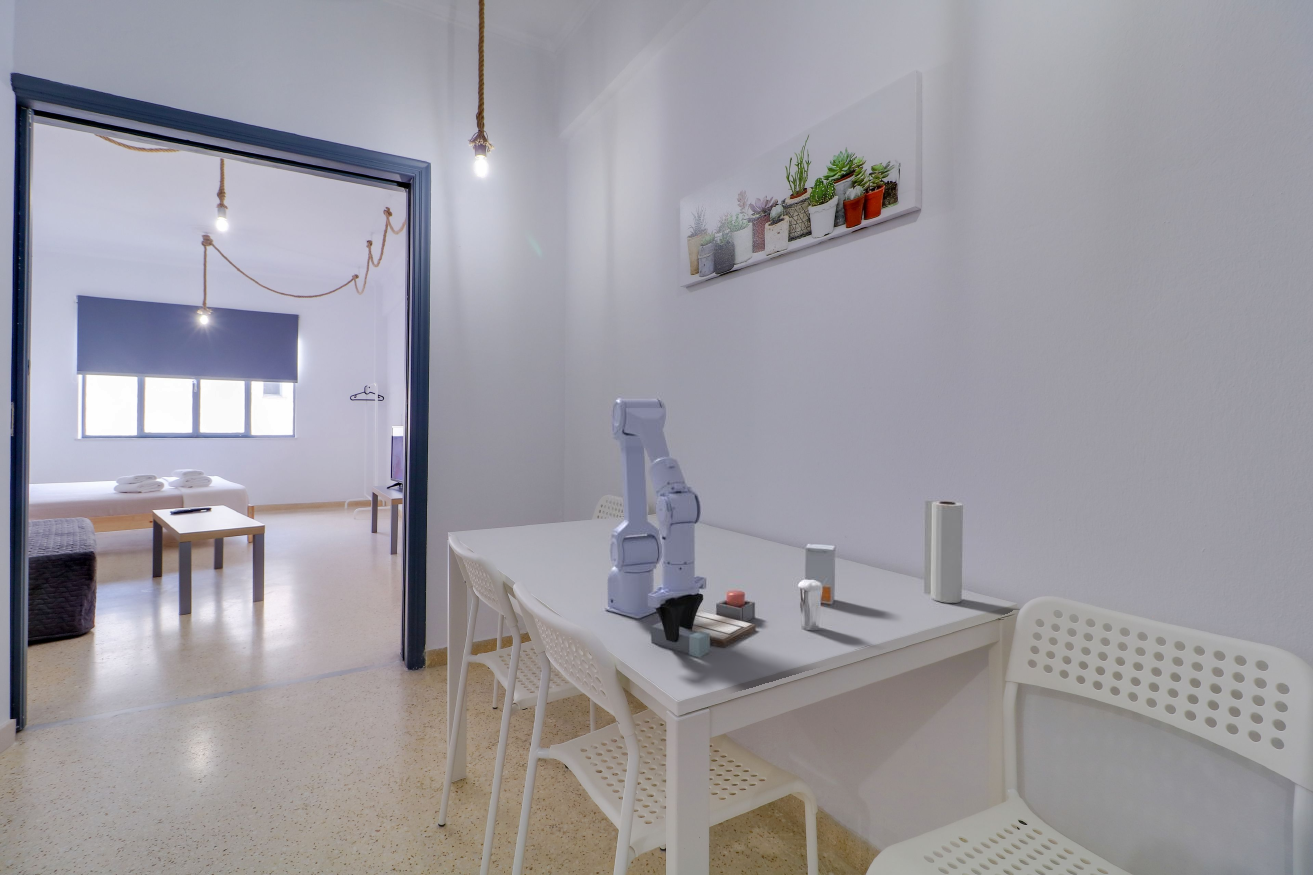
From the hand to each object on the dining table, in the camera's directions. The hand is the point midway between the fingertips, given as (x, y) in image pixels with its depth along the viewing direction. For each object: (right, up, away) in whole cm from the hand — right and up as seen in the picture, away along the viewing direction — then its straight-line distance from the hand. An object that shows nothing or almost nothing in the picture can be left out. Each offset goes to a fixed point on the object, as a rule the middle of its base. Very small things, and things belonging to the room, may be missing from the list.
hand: (678, 637), depth 106 cm
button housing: (+12, -1, +15) cm, 19 cm away
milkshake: (+26, -1, +9) cm, 27 cm away
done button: (+12, +1, +15) cm, 19 cm away
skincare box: (+32, -1, +26) cm, 41 cm away
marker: (0, -2, 0) cm, 2 cm away
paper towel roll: (+59, -1, +26) cm, 65 cm away
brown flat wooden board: (+6, -1, +8) cm, 10 cm away
